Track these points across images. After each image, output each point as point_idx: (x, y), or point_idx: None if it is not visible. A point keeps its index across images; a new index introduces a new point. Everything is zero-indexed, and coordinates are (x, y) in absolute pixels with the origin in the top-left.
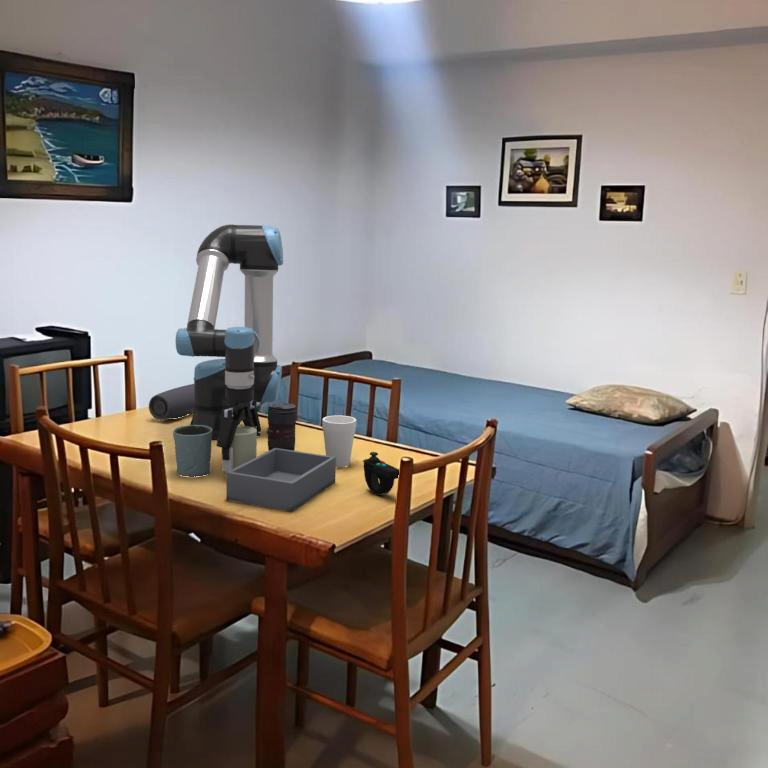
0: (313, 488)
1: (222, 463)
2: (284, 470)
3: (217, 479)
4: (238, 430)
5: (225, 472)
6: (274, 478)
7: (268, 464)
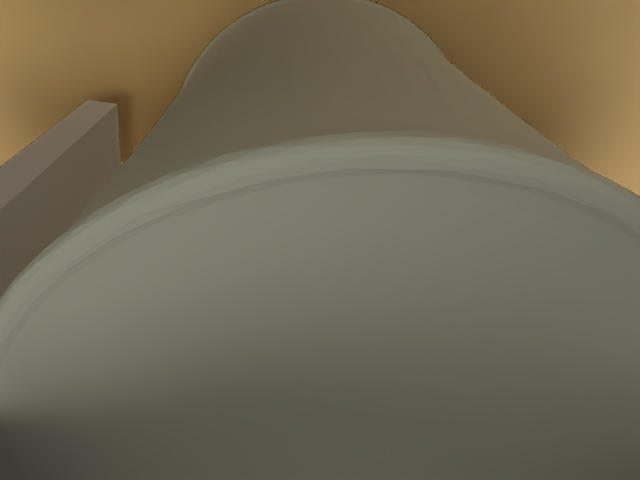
0: None
1: (57, 123)
2: None
3: (32, 66)
4: (350, 475)
5: (189, 78)
6: None
7: None
